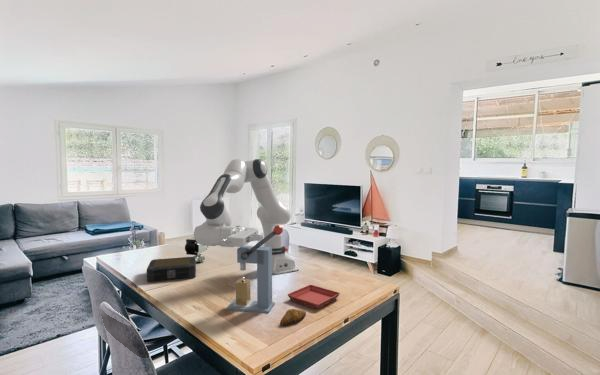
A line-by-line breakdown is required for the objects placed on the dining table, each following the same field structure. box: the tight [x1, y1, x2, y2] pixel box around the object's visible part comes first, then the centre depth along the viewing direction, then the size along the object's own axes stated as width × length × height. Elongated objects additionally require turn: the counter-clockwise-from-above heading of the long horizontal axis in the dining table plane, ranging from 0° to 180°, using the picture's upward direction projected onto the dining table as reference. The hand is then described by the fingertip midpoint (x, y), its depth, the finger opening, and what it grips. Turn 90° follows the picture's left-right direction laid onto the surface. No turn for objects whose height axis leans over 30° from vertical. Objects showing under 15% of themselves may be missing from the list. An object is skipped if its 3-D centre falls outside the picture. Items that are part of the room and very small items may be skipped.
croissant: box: [279, 308, 307, 327], centre depth 133 cm, size 14×7×5 cm, turn 135°
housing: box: [235, 276, 251, 306], centre depth 148 cm, size 5×5×12 cm
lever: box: [241, 225, 284, 260], centre depth 139 cm, size 4×4×22 cm
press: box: [225, 245, 275, 314], centre depth 146 cm, size 19×10×26 cm, turn 80°
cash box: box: [146, 256, 197, 283], centre depth 189 cm, size 25×20×8 cm
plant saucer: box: [287, 284, 341, 310], centre depth 154 cm, size 18×18×3 cm
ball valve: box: [184, 236, 209, 264], centre depth 215 cm, size 18×8×18 cm, turn 168°
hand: (261, 237), depth 139 cm, fingers closed, pressing on lever
